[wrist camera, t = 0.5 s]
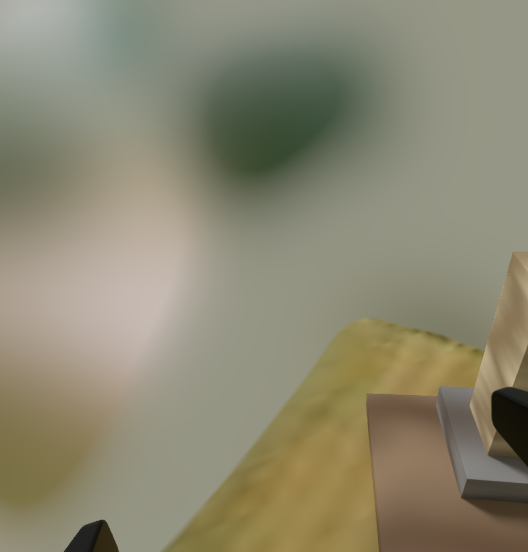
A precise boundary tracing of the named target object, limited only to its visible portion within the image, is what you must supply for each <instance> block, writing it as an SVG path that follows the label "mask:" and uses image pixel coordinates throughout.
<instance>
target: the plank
mask: <svg viewBox="0 0 528 552" xmlns="http://www.w3.org/2000/svg"><path fill="white" fill-rule="evenodd" d="M437 398H438V396H418V395H392V394H367V403H366V408H367V419H368V430H369V442H370V453H371V464H372V475H373V486H374V497H375V508H376V520H377V531H378V542H379V552H528V504H527V503H516V502H504V501H493V500H482V499H470V498H461V496H460V493H459V489H458V485H457V482H456V478H455V474H454V471H453V467H452V463H451V460H450V456H449V452H448V448H447V445H446V441H445V437H444V434H443V430H442V426H441V423H440V419H439V415H438V411H437V408H436V403H437Z"/></svg>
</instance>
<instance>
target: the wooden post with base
mask: <svg viewBox="0 0 528 552" xmlns="http://www.w3.org/2000/svg"><path fill="white" fill-rule="evenodd" d="M505 387H513V388H517V389H521V390H524V391H528V252H513V253H512V257H511V261H510V264H509V268H508V271H507V275H506V278H505V282H504V285H503V289H502V292H501V296H500V299H499V303H498V307H497V310H496V314H495V317H494V321H493V324H492V328H491V331H490V335H489V338H488V342H487V346H486V349H485V353H484V356H483V360H482V363H481V367H480V370H479V374H478V377H477V381H476V384H475V388H471V387H442V386H440V388H439V393H438V398H437V403H436V408H437V411H438V415H439V419H440V423H441V426H442V430H443V434H444V437H445V441H446V445H447V448H448V452H449V456H450V460H451V463H452V467H453V471H454V474H455V478H456V482H457V485H458V489H459V493H460V496H461V498H470V499H482V500H493V501H504V502H516V503H527V504H528V467H527V466H526V465H525V464H524V463H523V461H522V460H521V459H520V458H519V457H518V455H517V454H516V453H515V452H514V451H513V450H512V448H511V447H510V446H509V445H508V444H507V442H506V441H505V440H504V439H503V438H502V437H501V435H500V434H499V433H498V432H497V431H496V429H495V427H494V426H493V423H492V419H491V395H492V393H493V392H494V391H496V390H499V389H502V388H505Z"/></svg>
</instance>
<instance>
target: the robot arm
mask: <svg viewBox="0 0 528 552" xmlns="http://www.w3.org/2000/svg"><path fill="white" fill-rule="evenodd" d="M491 419H492V423H493V426H494V427H495V429H496V431H497V432H498V433H499V434H500V435H501V437H502V438H503V439H504V440H505V441H506V442H507V444H508V445H509V446H510V447H511V448H512V450H513V451H514V452H515V453H516V454H517V455H518V457H519V458H520V459H521V460H522V461H523V463H524V464H525V465H526V466H527V467H528V391H524V390H521V389H517V388H513V387H505V388H502V389H499V390H496V391H494V392H493V393H492V395H491ZM64 552H119V551H118V547H117V545H116V542H115V540H114V538H113V535H112V533H111V531H110V528H109V526H108V524H107V522H106V521H105V520H99V521H96V522H93V523H90V524H87V525H85V526H83V527H82V528H81V529H80V530H79V532H78V533H77V535H76V536H75V537H74V538H73V540H72V541H71V542H70V544H69V545H68V547H67V548H66V549H65V551H64Z"/></svg>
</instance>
